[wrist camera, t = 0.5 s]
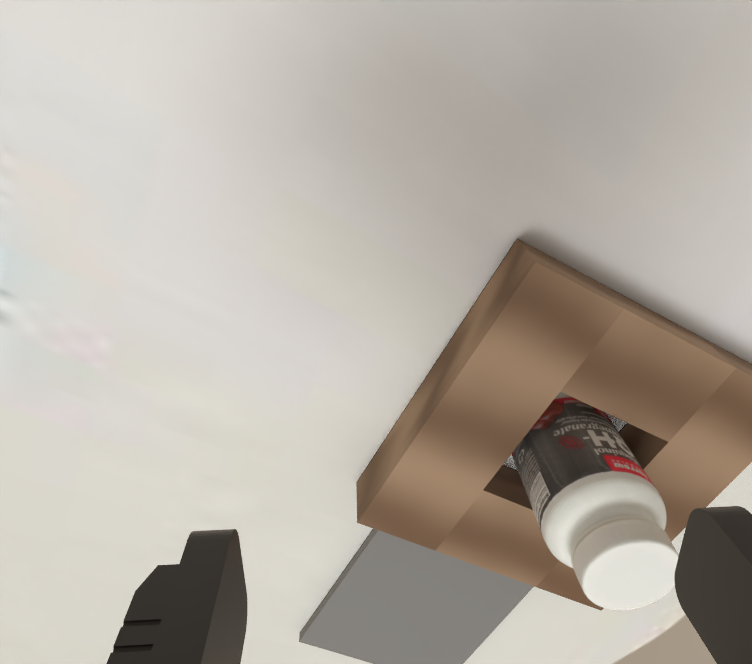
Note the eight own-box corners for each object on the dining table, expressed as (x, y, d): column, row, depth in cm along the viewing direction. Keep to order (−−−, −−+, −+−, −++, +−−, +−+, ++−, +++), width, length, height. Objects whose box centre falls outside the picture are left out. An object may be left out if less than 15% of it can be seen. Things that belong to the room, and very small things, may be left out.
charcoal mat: (378, 520, 34) (379, 528, 34) (532, 576, 37) (535, 584, 37) (299, 633, 39) (299, 641, 38) (442, 675, 41) (444, 684, 41)
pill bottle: (607, 380, 31) (709, 520, 22) (603, 461, 33) (693, 615, 24) (503, 395, 31) (565, 539, 22) (507, 474, 33) (564, 631, 25)
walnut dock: (517, 238, 27) (535, 262, 24) (768, 373, 31) (807, 406, 28) (356, 482, 33) (357, 522, 30) (583, 568, 37) (601, 610, 34)
